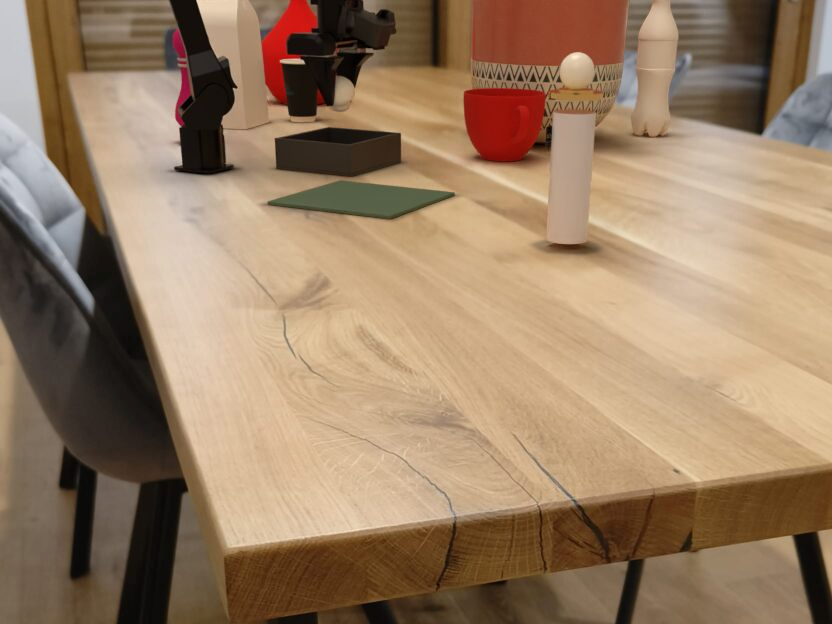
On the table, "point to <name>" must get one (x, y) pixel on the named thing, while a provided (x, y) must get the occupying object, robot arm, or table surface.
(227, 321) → the table surface
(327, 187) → the placemat
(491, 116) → the ceramic cup
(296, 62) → the dixie cup
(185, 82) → the pepper mill
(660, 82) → the water bottle
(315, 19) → the vase
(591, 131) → the perfume bottle
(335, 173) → the black box
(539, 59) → the planter
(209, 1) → the milk
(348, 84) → the mushroom
